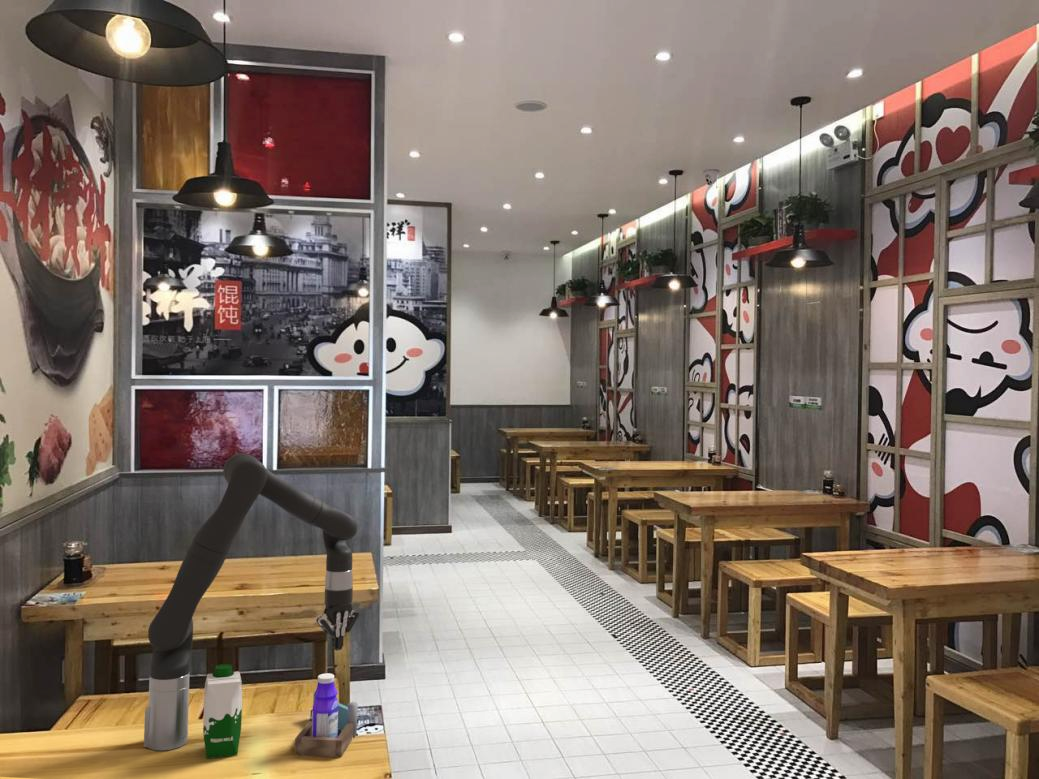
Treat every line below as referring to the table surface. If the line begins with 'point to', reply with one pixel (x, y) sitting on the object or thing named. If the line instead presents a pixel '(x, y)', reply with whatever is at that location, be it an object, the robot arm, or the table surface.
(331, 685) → the bottle
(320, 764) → the table surface
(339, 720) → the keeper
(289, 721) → the table surface
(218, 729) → the milk carton
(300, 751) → the brown wooden tray
